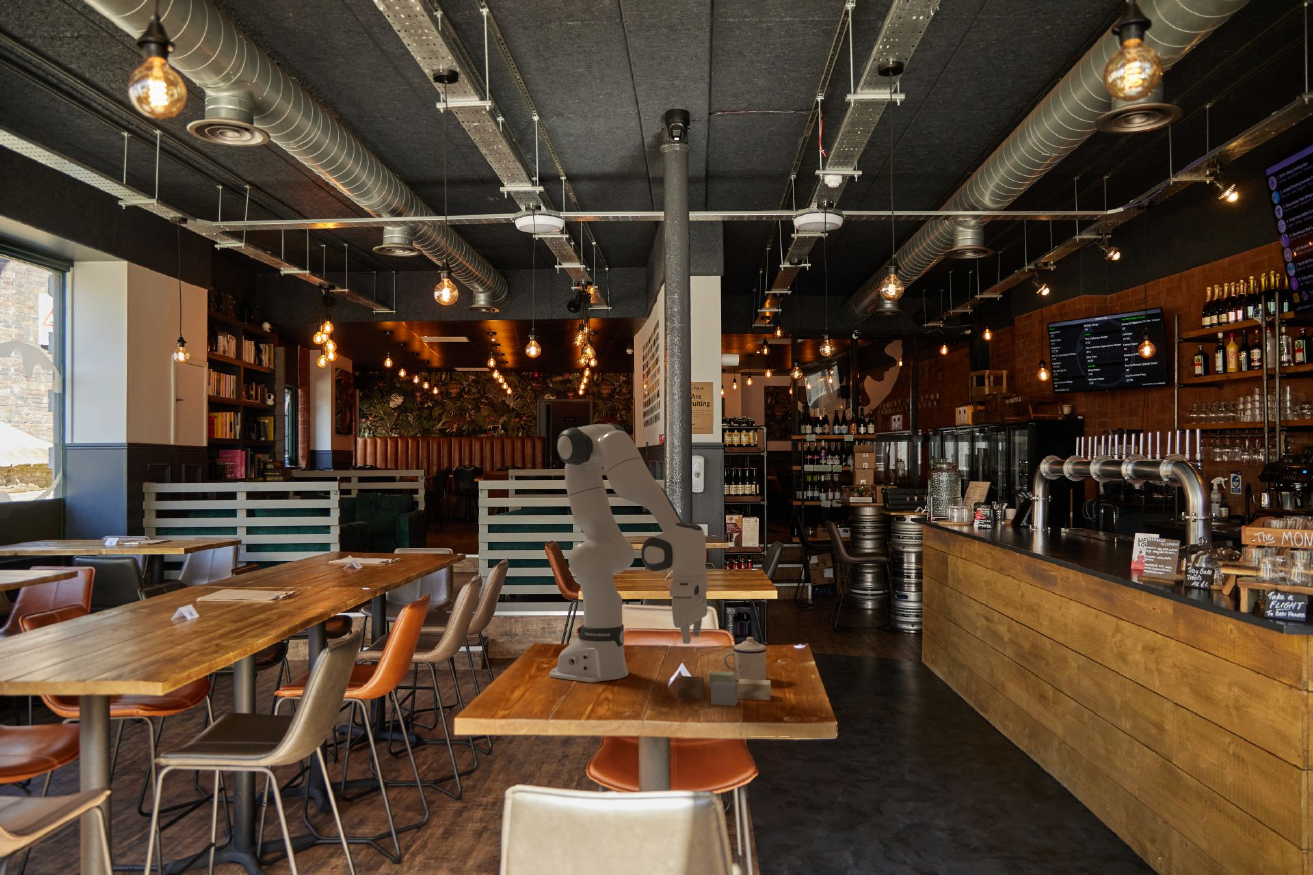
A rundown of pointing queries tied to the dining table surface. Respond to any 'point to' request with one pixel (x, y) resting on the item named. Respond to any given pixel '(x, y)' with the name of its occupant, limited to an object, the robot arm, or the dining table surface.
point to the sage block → (721, 677)
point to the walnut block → (691, 687)
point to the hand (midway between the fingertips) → (691, 639)
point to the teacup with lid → (749, 660)
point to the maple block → (754, 689)
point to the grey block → (724, 693)
